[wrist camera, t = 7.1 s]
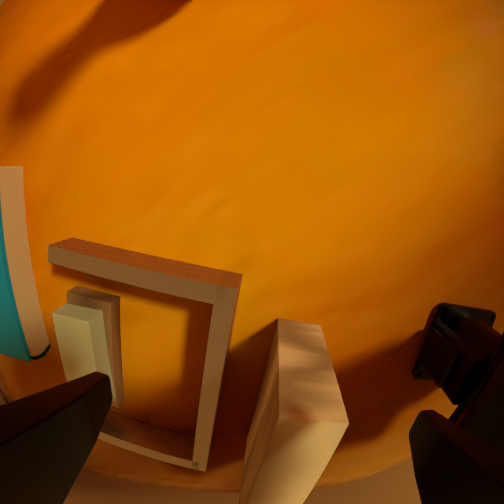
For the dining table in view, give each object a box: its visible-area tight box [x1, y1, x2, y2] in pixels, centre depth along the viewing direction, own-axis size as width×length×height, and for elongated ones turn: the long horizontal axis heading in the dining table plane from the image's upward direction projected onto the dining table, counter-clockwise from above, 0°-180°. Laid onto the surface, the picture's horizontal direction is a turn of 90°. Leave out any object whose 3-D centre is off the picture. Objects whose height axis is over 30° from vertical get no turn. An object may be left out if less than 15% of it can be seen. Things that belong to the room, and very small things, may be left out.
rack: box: [48, 238, 243, 472], centre depth 21 cm, size 13×17×3 cm
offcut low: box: [67, 286, 124, 408], centre depth 22 cm, size 4×10×2 cm, turn 171°
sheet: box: [239, 318, 349, 504], centre depth 17 cm, size 3×12×10 cm, turn 170°
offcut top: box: [52, 303, 116, 402], centre depth 20 cm, size 3×8×2 cm, turn 176°
